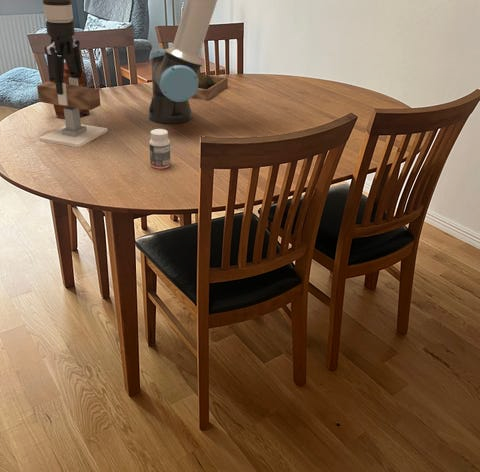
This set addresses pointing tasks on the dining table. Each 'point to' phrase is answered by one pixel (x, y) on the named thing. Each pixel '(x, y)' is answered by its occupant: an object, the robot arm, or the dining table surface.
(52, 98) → the bar
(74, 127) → the fulcrum
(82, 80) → the wooden figurine
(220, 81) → the wooden tray
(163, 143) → the pill bottle
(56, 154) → the dining table surface
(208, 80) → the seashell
